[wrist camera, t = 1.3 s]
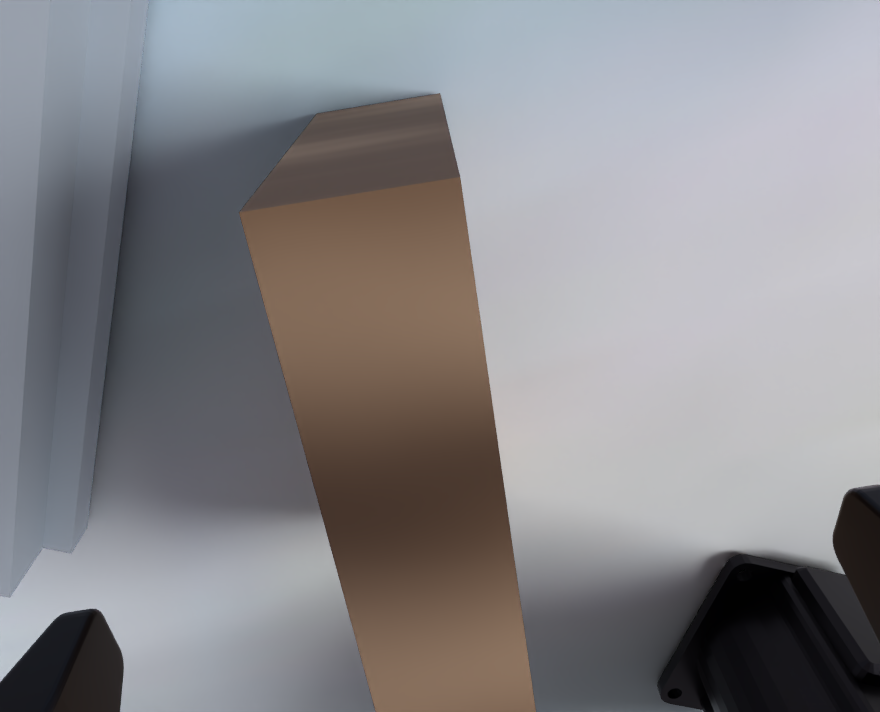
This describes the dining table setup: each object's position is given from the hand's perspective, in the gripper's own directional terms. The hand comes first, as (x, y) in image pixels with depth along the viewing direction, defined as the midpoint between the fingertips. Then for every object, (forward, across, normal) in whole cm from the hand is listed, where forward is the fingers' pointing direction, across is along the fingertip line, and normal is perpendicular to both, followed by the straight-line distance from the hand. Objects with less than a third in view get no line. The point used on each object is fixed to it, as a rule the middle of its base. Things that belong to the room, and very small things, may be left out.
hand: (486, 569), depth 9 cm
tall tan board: (+12, 0, +4) cm, 12 cm away
